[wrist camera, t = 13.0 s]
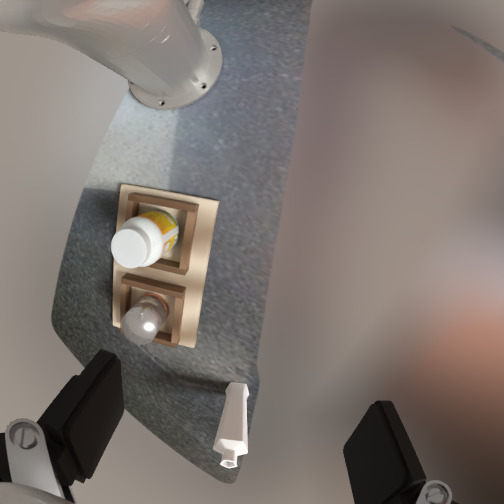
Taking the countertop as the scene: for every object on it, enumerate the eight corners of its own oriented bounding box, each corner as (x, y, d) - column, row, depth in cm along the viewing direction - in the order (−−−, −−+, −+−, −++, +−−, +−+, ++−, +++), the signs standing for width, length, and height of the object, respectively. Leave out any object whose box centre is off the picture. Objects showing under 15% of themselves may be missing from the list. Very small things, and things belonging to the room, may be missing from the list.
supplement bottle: (183, 249, 36) (157, 275, 27) (144, 251, 36) (110, 277, 27) (177, 206, 35) (148, 219, 25) (138, 211, 35) (100, 224, 26)
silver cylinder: (139, 288, 38) (120, 307, 32) (170, 297, 38) (156, 317, 32) (137, 317, 39) (120, 339, 33) (167, 326, 39) (154, 349, 33)
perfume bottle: (219, 381, 43) (204, 455, 28) (246, 378, 42) (240, 454, 28) (226, 401, 44) (215, 472, 29) (252, 398, 44) (248, 471, 29)
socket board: (124, 183, 35) (114, 185, 32) (219, 201, 35) (215, 203, 32) (115, 322, 41) (107, 331, 38) (195, 344, 41) (191, 355, 38)
